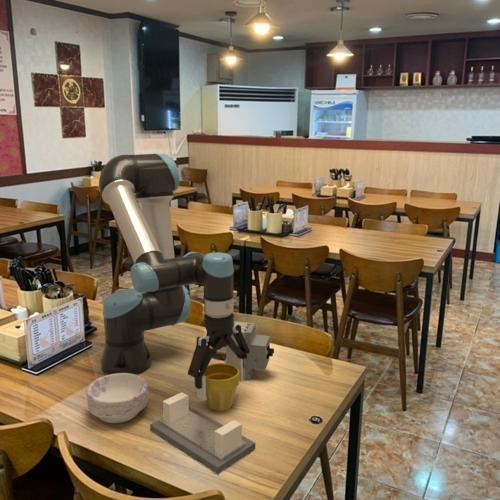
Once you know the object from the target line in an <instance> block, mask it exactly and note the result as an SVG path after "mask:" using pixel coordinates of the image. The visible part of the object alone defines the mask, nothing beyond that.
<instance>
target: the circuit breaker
mask: <svg viewBox="0 0 500 500" xmlns="http://www.w3.org/2000/svg"><path fill="white" fill-rule="evenodd" d="M234 323H235V324H238V325H240V326H241V331H242V334H243V337H244V339H245V341H246V343H247V346H248V348H249V350H250V352H249V354H246V355H247V358H246V359H244V368H243V381H251V380H252V378H253V375H254V373H255V371H256V370H263V371H265V370H267V368H268V367H267V366H268V364H269V362H270V360H271V359H270V357H273V355H274V354H275V353H274V352H275V348H274V347H273V348H271V345H270V344H271V337H270V335H261V334H257V333H256V332H257V331H256V322H245V321H234ZM231 338H232V339H233V340H234V341H235V344H236V345H237V346H238V344H237V342H236V340H235V338H234V335H233V334H232V336H231ZM238 347H239V346H238ZM235 356H236V357H237V355H236V354H235V353H234V352H233V351H232V350H231V349H230V348H229V347H228V346H226V360H225V361H223V363H227V364H231V365H234V357H235Z"/></svg>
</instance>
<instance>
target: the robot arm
mask: <svg viewBox="0 0 500 500" xmlns="http://www.w3.org/2000/svg"><path fill="white" fill-rule="evenodd" d="M179 186H180V174H179V169H178V166H177V163H176V162H175V161H174V159H173V158H172V157H171V156H170V154H169V155H168V154H165V153H143V154H142V153H141V154H122V155H117V156H115V157H112V158H111V159H109V161H107V163H106V164H105V165H104V166H103V168H102V169H101V172H100V175H99V179H98V187H99V188H98V189H99V193H100V195H101V198H102V200H103V202H104V203H105V204H107V205H109V208H110V209H111V212H112V214H113V216H114V219H115V221H116V224H117V226H118V228H119V231H120V233H121V235H122V237H123V241H125V244H126V247H127V248H128V251H129V253H130V255H131V258H132V261H133V265H132V266H131V267H130V280H131V284H132V287H133V288H131V289H122V290H116V291H115V292H112V293H111V294H109V295H107V297H105V299H104V300H103V305H102V306H103V307H102V316H103V325H104V327H103V328H104V341H105V345H104V349H103V353H102V356H101V359H100V360H101V361H100V367H101V371H102V372H103V373H104V374H106V375H110V374H116V373H130V374H135V375H138V374H141V373H144V371H146V370H148V369H149V368H150V367H151V365H152V358H151V357H152V356H151V353H150V351H149V348H148V347H147V344H146V341H145V332H146V331H150V330H156V329H160V328H164V327H168V326H172V327H173V326H176V325H178V324H180V323H184V322H185V321H186V320H187V319H188V318H189V315H190V312H191V302H192V301H191V296H190V294H189V293H190V291H189V290H188V288H187V287H185V286H189V285H194V284H199V286H203V305H204V306H203V307H204V308H203V312H204V328H205V330H206V335H205V336H202V337H201V336H197V337H196V343H195V349H194V351H193V354H192V358H191V360H190V364H189V368H188V370H187V375H189V376H190V377H192V378H194V387H195V388H196V397H197V399H200V400H202V401H207V399H206V376H204V375H203V374H204V372H205V370H206V368H207V366H208V365H210V362H211V361H212V359H213V358H212V356H213V354H215V353H216V352H217V350H219V349H221V348H222V347H226V346H228V347H229V348H230V349H231V350H232V351H233V352H234V353H235V354H236V355H237V357H236V356H235V357H234V366H236V367H237V368H238V369H239V372H240V379H239V383H242V382H243V381H244V380H243V368H244V359H246V358H247V355H246V354H249V352H250V350H249V348H248V346H247V343H246V341H245V339H244V337H243V334H242V331H241V326H240V325H238V324H235V323H234V322H235V319H234V317H235V316H234V273H235V272H234V271H235V269H234V263H233V262H234V261H233V257H232V255H231V254H229V253H227V252H221V251H220V252H219V251H218V252H209V253H206V254H204V253H201V252H197V251H189V252H187V253H186V254H184V255H183V256H180V257H175V250H174V239H173V238H174V237H173V229H172V218H171V216H172V215H171V205H170V203H171V201H172V200H173V199H174V197H175V196H174V195H175V194H174V192H175V191H176V190H178V189H179ZM140 205H141V206H140ZM232 334H233V335H234V338H235V340H236V342H237V344H238V346H239V347H238V346H237V345H236V344H235V341H234V340H233V339H232V338H231V336H232ZM210 346H211V347H212V348H213V349H211V348H209V347H210Z"/></svg>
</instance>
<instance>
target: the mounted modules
mask: <svg viewBox="0 0 500 500" xmlns="http://www.w3.org/2000/svg"><path fill="white" fill-rule="evenodd" d="M162 413H163V414H162V415H163V417H162V418H164V420H165V421H167V422H168V423H172V422H174V421H175V420H177V419H179V418H181V417H183V416H185V415H187V414H189V395H187V394H186V393H184V392H179V393H177V394H175V395H173V396H171V397H168V398H167V399H164V400H162ZM223 425H224V426H222V427H221V428H219V429H217V430H216V431H215V451H216V452H218V453H219V454H221V455H225V454H226V453H228V452H229V451H231V450H233V449H234V448H236V447H237V446H239V445H240V444H242V436H243V433H242V432H243V431H242V429H243V426H242V425H243V424H242V423H241V422H238V421H236V420H235V419H234V420H231V421H230V422H228V423H226V424H223Z"/></svg>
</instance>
